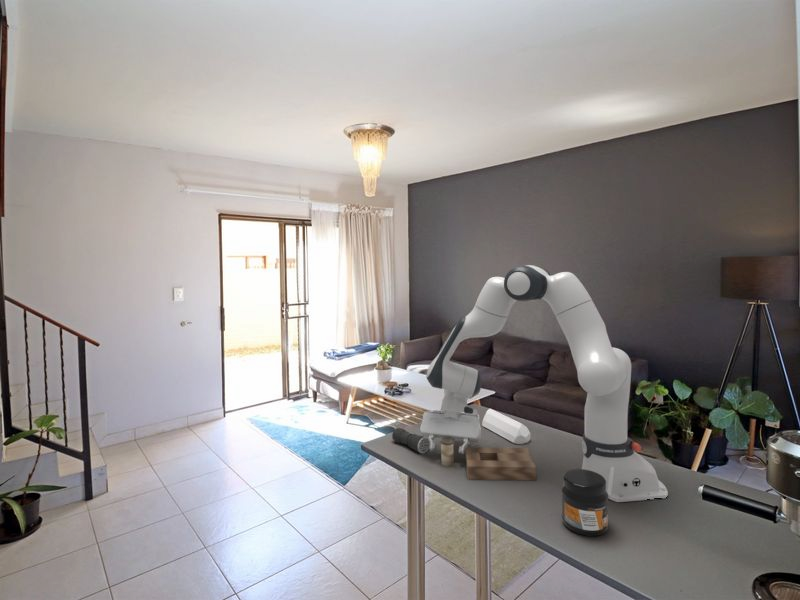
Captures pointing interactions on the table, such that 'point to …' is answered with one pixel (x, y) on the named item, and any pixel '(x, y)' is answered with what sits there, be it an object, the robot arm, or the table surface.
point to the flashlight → (411, 440)
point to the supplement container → (585, 502)
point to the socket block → (499, 463)
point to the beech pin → (447, 452)
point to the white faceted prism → (506, 427)
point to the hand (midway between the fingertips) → (446, 451)
